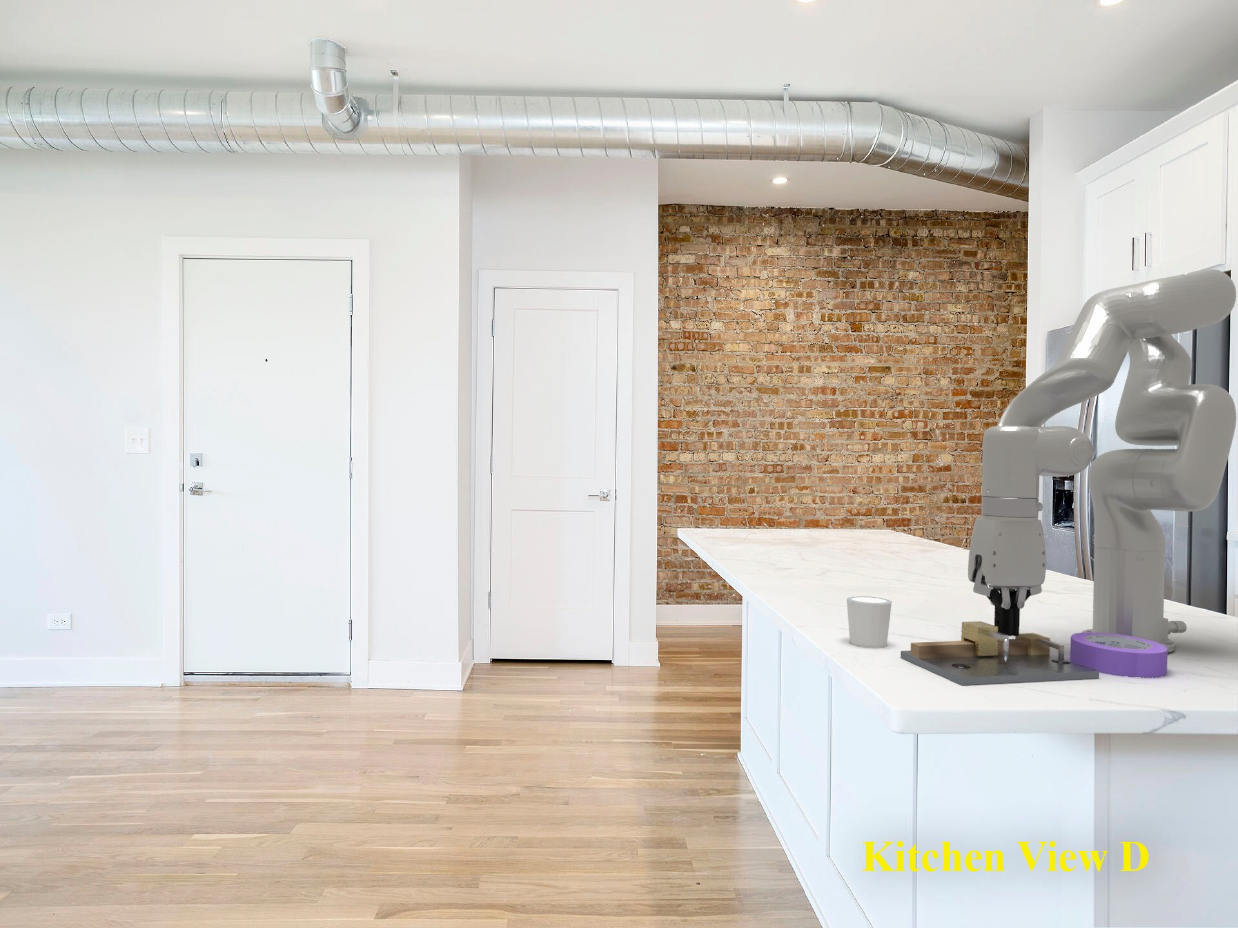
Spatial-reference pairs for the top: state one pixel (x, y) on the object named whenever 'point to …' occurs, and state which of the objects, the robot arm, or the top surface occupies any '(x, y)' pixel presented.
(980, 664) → the plate
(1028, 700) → the top surface
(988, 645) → the sliding head
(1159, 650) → the masking tape
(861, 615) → the light grey cup
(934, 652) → the trammel beam
